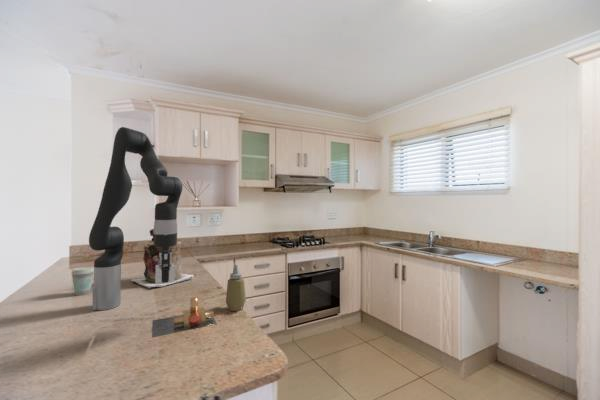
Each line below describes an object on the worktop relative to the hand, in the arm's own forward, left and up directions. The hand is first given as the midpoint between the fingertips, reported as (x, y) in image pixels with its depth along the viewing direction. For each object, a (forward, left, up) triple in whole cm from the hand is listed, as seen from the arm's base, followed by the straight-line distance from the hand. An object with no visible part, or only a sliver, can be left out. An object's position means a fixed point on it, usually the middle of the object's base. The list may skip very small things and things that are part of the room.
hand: (164, 279), depth 96 cm
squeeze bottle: (+26, +3, -17) cm, 31 cm away
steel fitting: (0, 0, 0) cm, 0 cm away
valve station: (+6, -3, -16) cm, 18 cm away
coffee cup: (-34, +56, -17) cm, 67 cm away
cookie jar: (+1, +62, -17) cm, 64 cm away
